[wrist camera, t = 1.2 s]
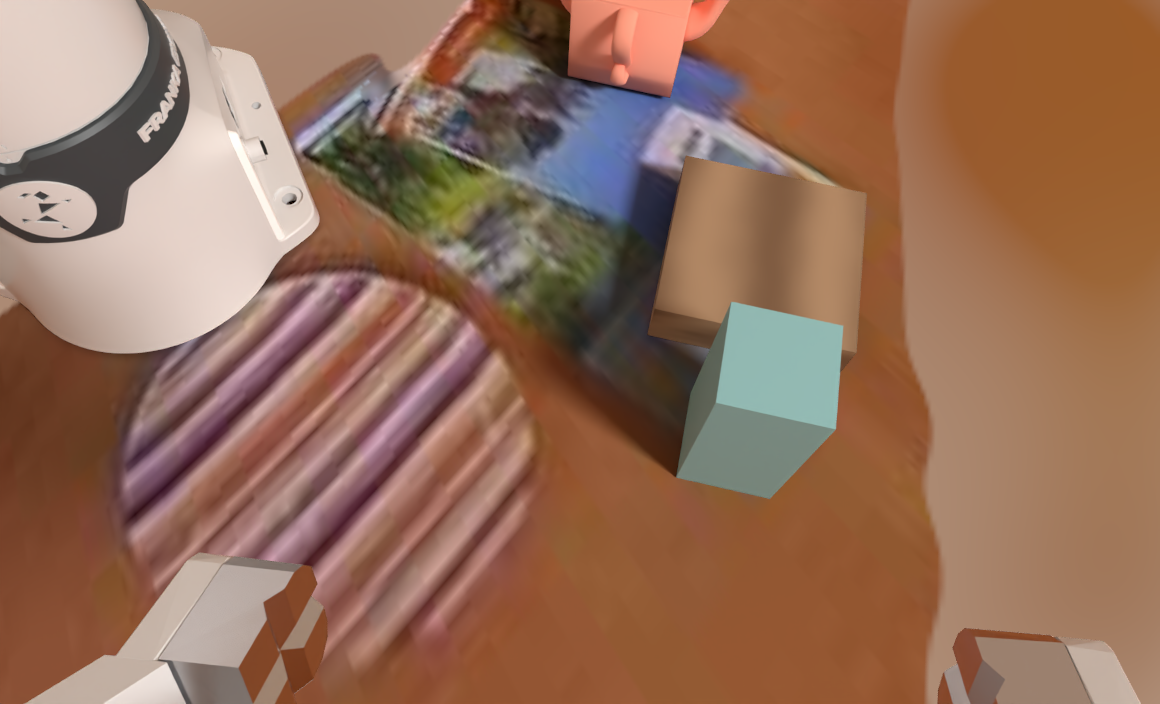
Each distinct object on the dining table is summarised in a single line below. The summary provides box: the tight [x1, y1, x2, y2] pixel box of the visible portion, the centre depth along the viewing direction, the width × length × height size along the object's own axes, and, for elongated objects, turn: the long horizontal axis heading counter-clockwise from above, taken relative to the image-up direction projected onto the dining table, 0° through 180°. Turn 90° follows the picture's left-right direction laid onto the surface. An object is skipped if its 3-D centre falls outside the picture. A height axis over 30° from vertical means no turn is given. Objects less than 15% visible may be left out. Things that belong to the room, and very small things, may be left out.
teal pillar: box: [676, 302, 843, 499], centre depth 38 cm, size 5×5×10 cm
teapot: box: [561, 0, 729, 98], centre depth 52 cm, size 12×15×8 cm
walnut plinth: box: [647, 156, 867, 372], centre depth 46 cm, size 11×11×3 cm
